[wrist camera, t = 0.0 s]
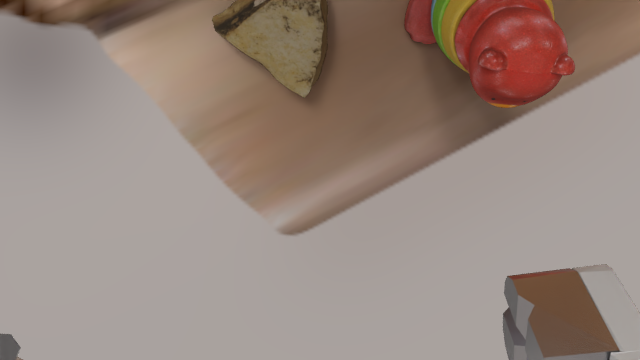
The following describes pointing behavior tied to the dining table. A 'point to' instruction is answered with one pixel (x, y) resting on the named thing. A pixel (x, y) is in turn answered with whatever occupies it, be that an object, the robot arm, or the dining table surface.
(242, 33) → the rock
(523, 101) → the stacking bear
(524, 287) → the robot arm
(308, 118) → the dining table surface
